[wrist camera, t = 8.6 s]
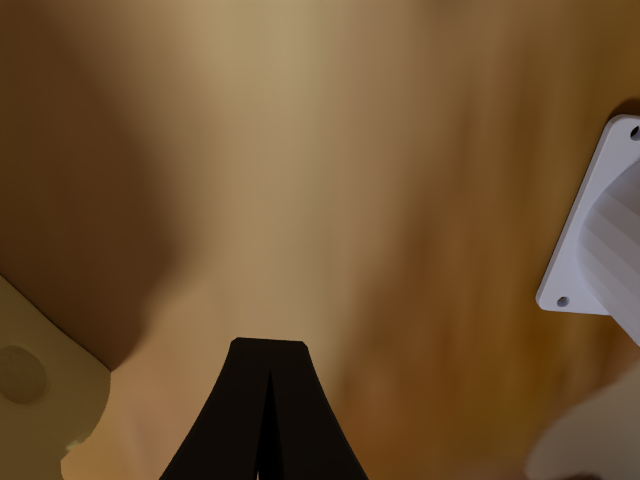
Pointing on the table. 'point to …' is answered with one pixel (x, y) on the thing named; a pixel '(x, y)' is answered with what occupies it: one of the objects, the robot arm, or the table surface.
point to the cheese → (43, 391)
